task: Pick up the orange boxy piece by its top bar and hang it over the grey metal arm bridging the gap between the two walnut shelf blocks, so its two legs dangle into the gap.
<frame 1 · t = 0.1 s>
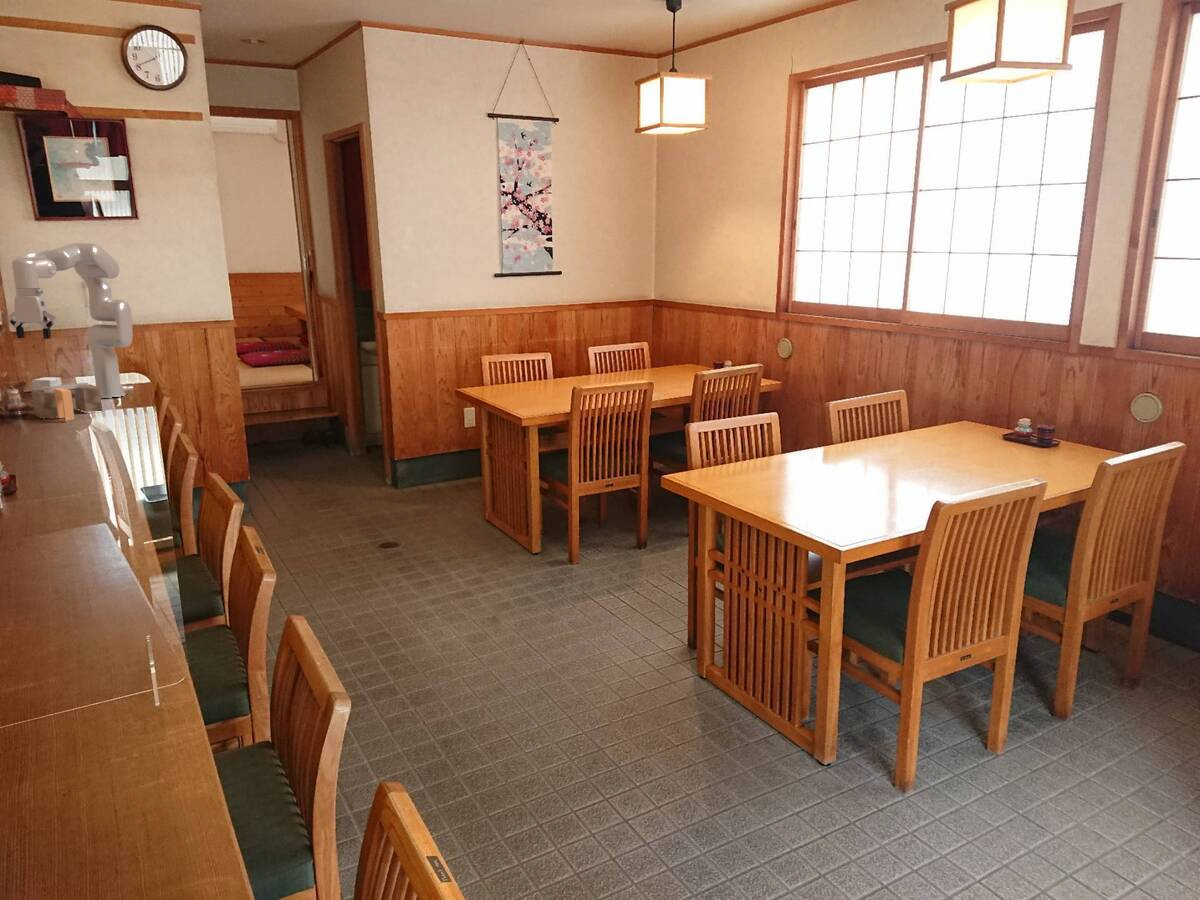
hand: (34, 338, 318), 31 cm above the counter, tool pointing down, fingers open, 9 cm apart
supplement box: (50, 409, 341), on the counter
shelf: (69, 413, 334), on the counter
orange boxy piece: (66, 420, 323), on the counter
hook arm: (65, 387, 332), on the shelf, point 10 cm above the counter
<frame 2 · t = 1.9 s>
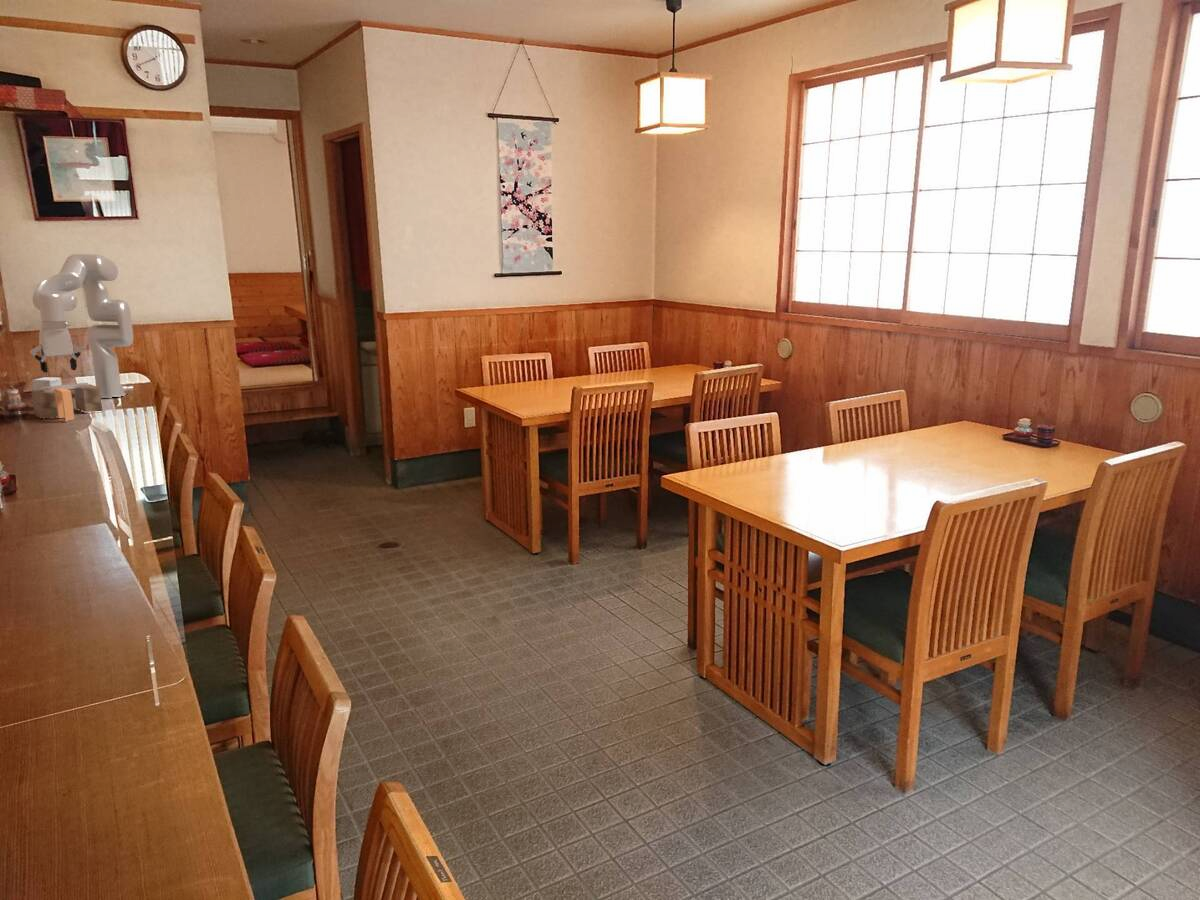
hand: (59, 370, 318), 19 cm above the counter, tool pointing down, fingers open, 9 cm apart
nothing on the counter moved.
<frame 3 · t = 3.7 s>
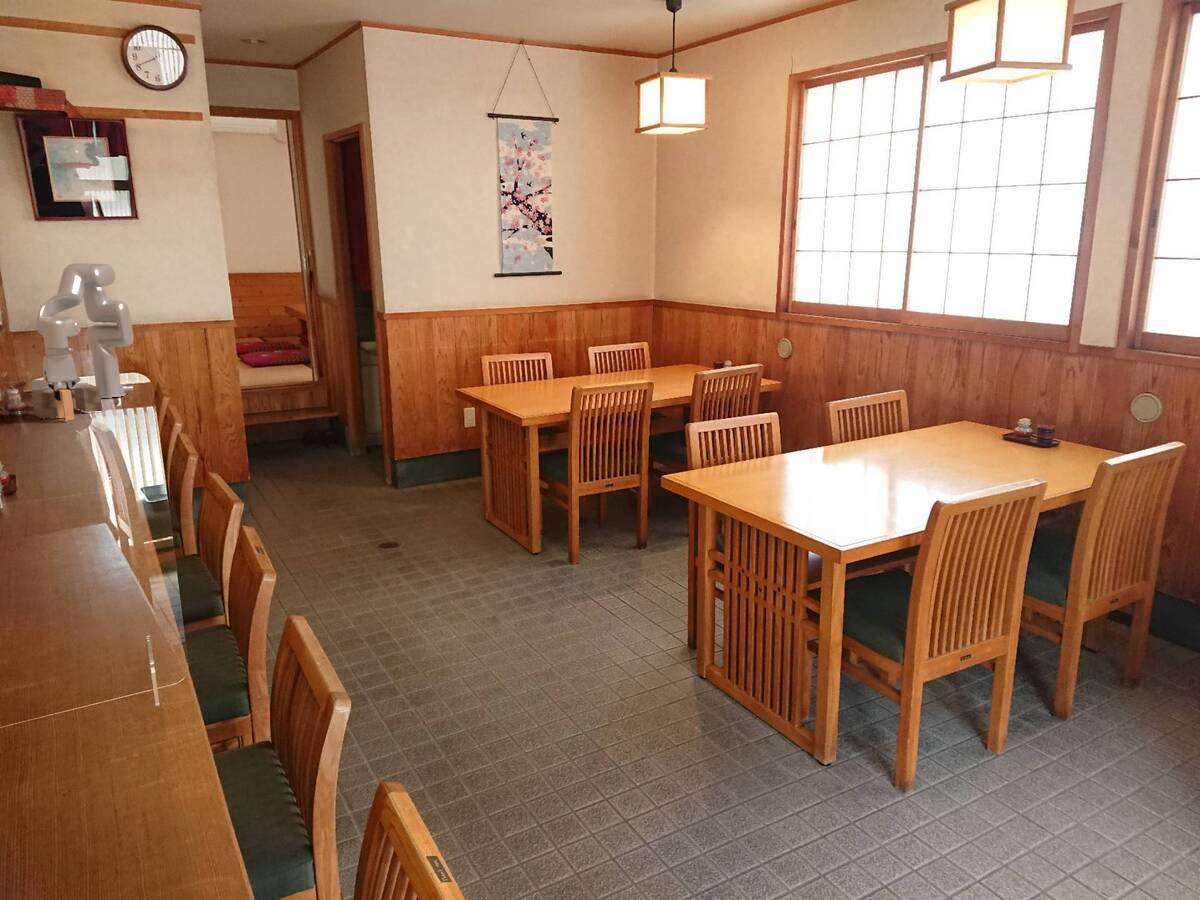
hand: (63, 399, 321), 8 cm above the counter, tool pointing down, fingers closed on orange boxy piece, 3 cm apart
orange boxy piece: (66, 420, 323), on the counter, touching gripper
everything else where it was.
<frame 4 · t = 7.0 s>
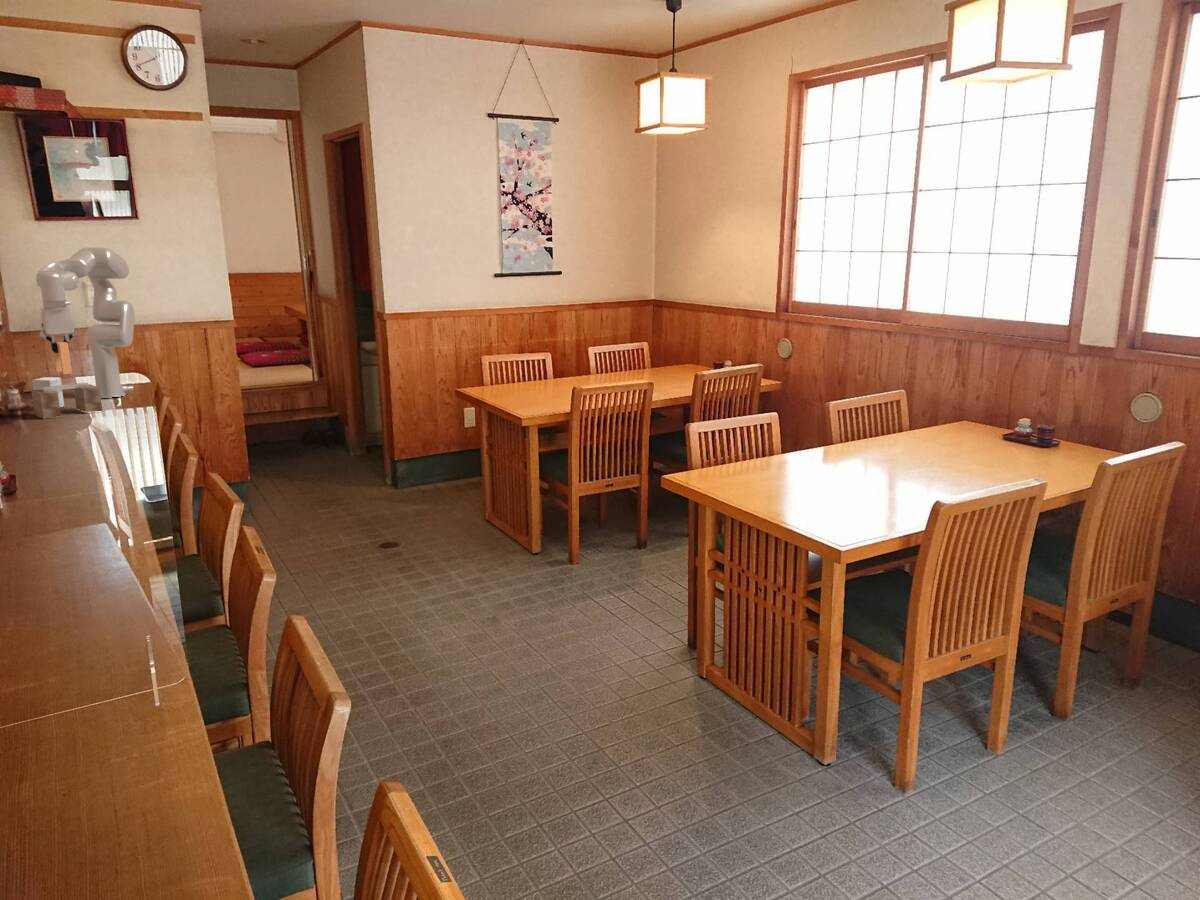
hand: (61, 351, 328), 25 cm above the counter, tool pointing down, fingers closed on orange boxy piece, 3 cm apart
orange boxy piece: (63, 372, 330), point 17 cm above the counter, touching gripper
everything else where it was.
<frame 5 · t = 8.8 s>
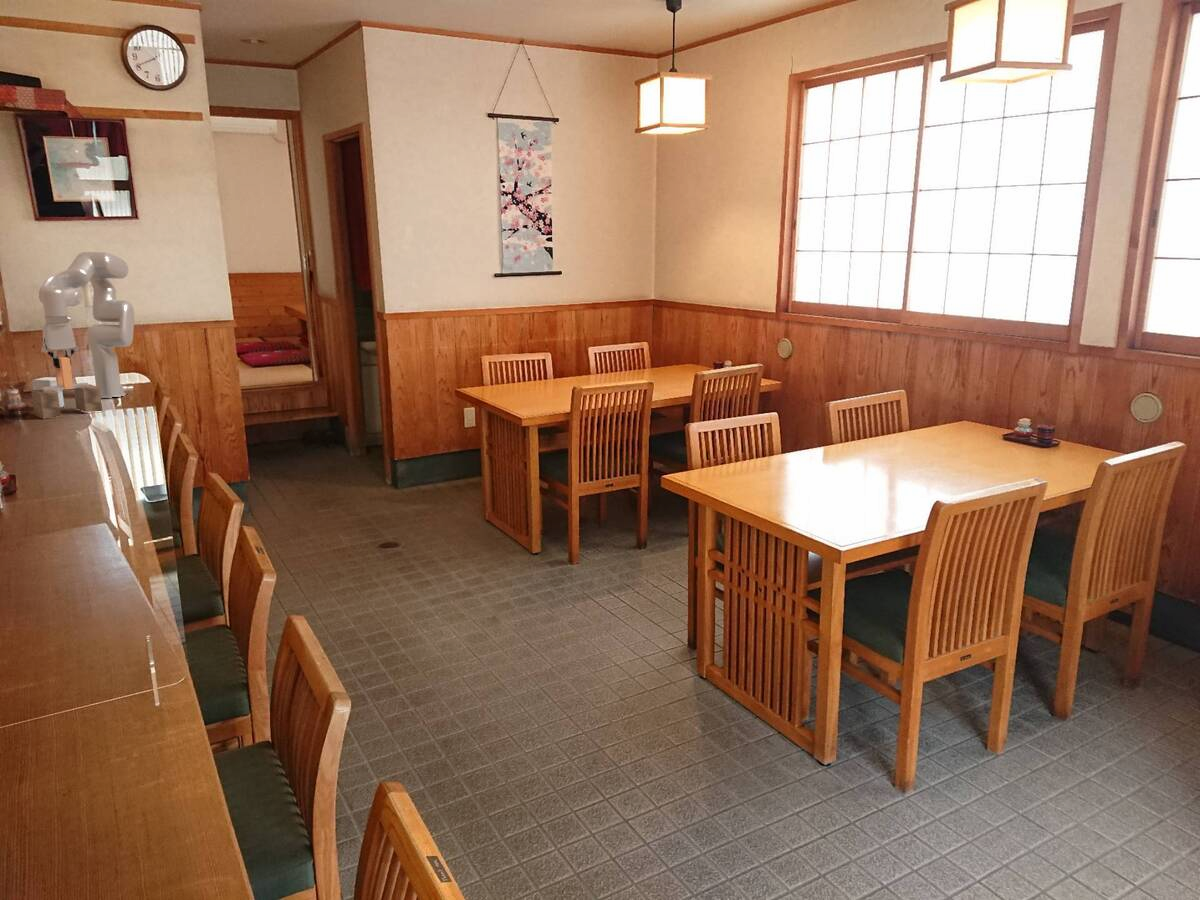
hand: (62, 367, 329), 19 cm above the counter, tool pointing down, fingers closed on orange boxy piece, 3 cm apart
orange boxy piece: (65, 387, 331), point 11 cm above the counter, touching gripper
everything else where it was.
when the fingers open (12 cm above the counter, at t = 10.2 s): orange boxy piece drops 2 cm, resting on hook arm.
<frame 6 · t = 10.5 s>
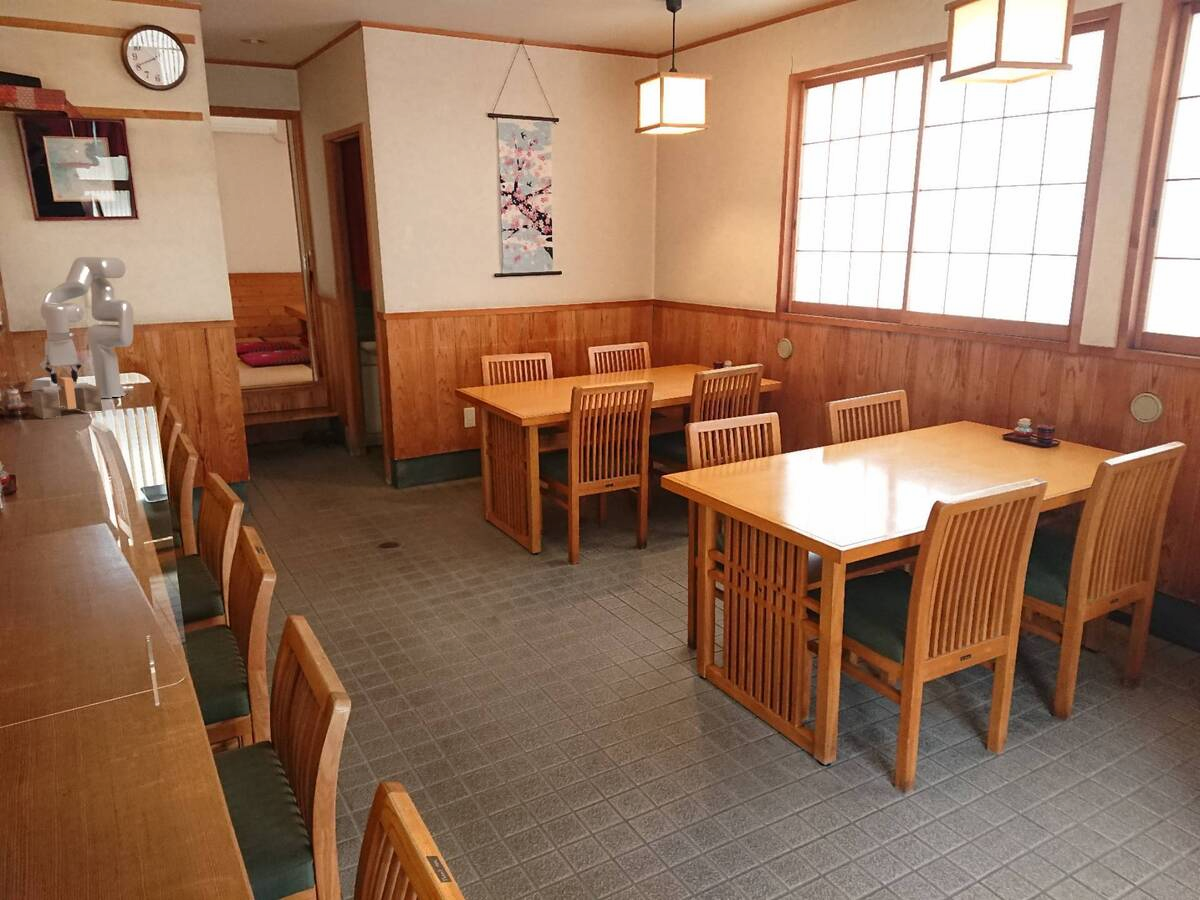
hand: (64, 381, 331), 13 cm above the counter, tool pointing down, fingers open, 6 cm apart
orange boxy piece: (68, 407, 334), point 2 cm above the counter, touching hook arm
everything else where it was.
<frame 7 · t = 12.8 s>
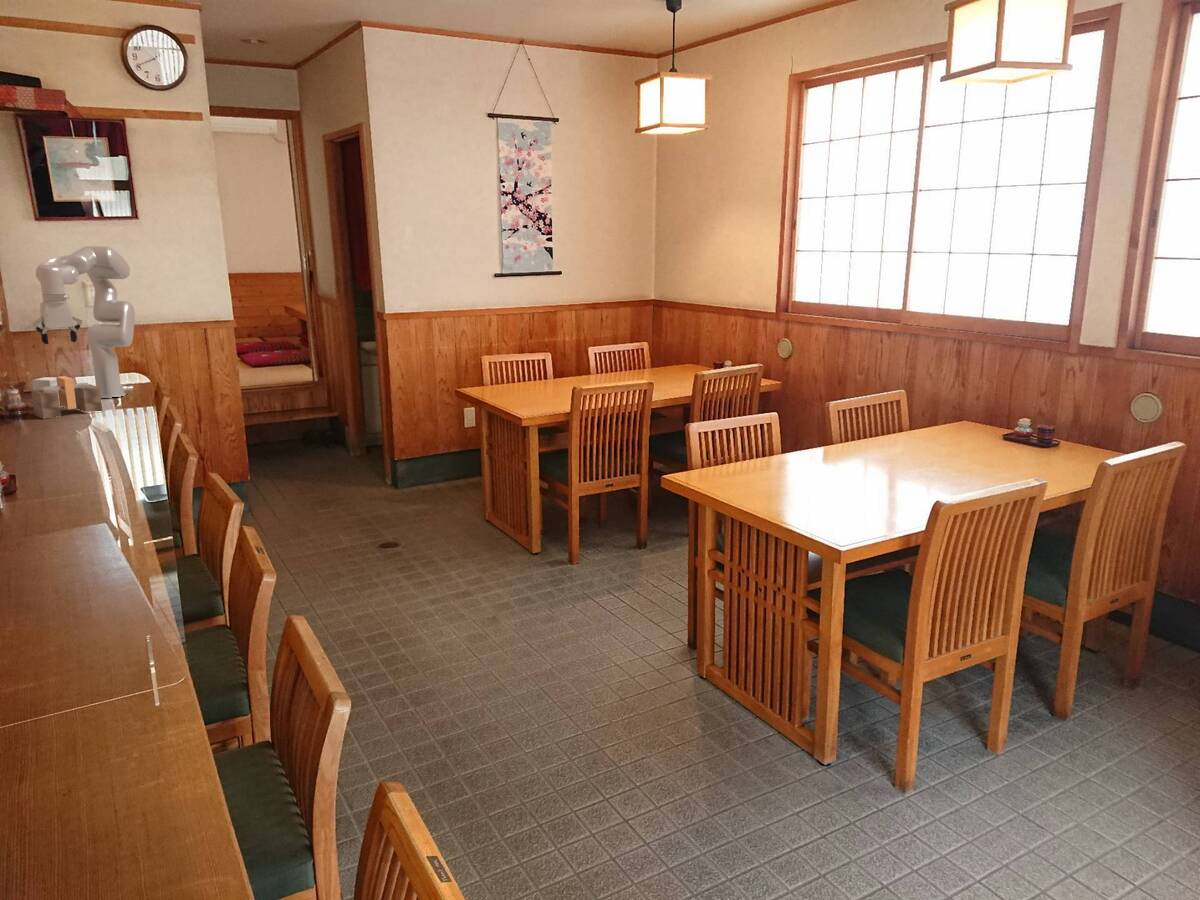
hand: (60, 342, 328), 28 cm above the counter, tool pointing down, fingers open, 9 cm apart
nothing on the counter moved.
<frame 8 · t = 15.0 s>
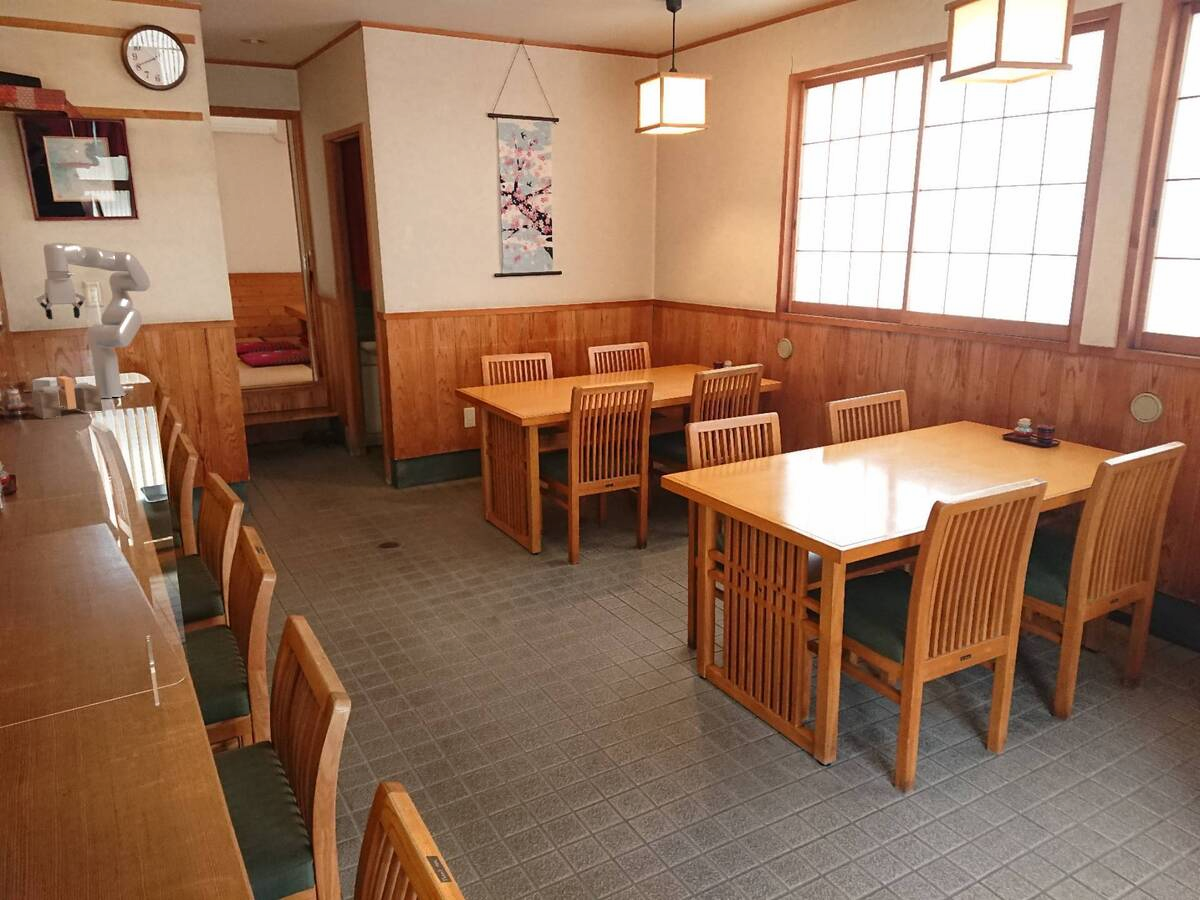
hand: (63, 318, 339), 36 cm above the counter, tool pointing down, fingers open, 9 cm apart
nothing on the counter moved.
at the end: orange boxy piece 0.0 cm off-centre on the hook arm, point 2.5 cm above the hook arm's base; orange boxy piece touching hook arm; the gripper is holding nothing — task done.
